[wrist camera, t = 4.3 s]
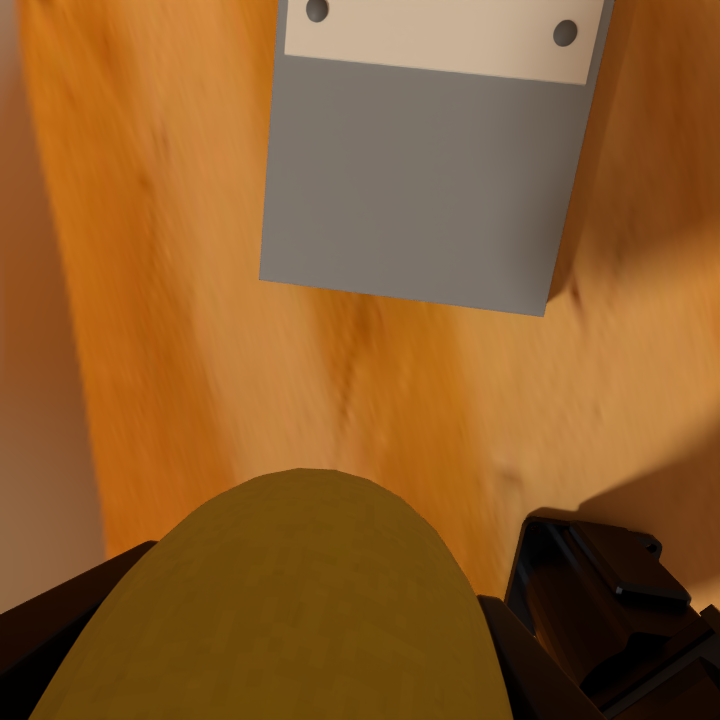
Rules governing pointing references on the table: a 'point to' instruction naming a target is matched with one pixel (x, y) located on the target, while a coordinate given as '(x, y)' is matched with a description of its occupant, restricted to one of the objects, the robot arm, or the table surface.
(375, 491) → the lemon
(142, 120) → the table surface
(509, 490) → the table surface
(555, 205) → the grey flat block
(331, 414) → the table surface
